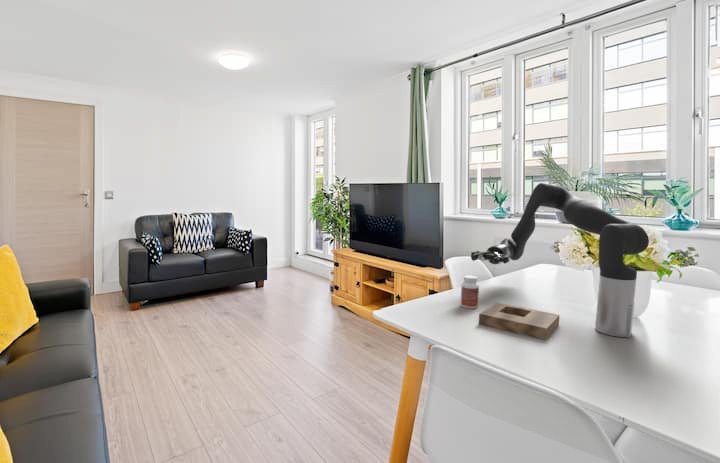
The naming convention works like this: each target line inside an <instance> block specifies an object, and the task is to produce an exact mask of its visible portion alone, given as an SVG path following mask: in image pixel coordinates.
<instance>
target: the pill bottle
mask: <svg viewBox="0 0 720 463" xmlns="http://www.w3.org/2000/svg"><path fill="white" fill-rule="evenodd" d="M460 289H461V291H460V306H461V307H462V308H465V309H470V310H471V309H476V308H478V307H479V294H480V285H479V283H478V276H475V275H464V276H463V282H462V283H461V288H460Z"/></svg>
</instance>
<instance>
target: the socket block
mask: <svg viewBox="0 0 720 463" xmlns="http://www.w3.org/2000/svg"><path fill="white" fill-rule="evenodd" d="M478 325H480V326H484V327H489V328H493V329H498V330H502V331H506V332H510V333H514V334H519V335H521V336H522V335H523V336H526V337H531V338H535V339H538V340H539V339H540V340H543V341H547V340H548V339H549V338H550V337H551V335H552V334H553V333H554V332H555V330H557V328H558V327H559V325H560V314H557V313H553V312H552V313H551V312H548V311H543V310H542V311H541V310H538V309H531V308H527V307H522V306H517V305H511V304H506V303H501V302H495V303H494V304H493V305H490V306H489V307H487V308H486V309H485V310H483V311H481V312H479V313H478Z"/></svg>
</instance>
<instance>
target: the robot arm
mask: <svg viewBox="0 0 720 463" xmlns="http://www.w3.org/2000/svg"><path fill="white" fill-rule="evenodd" d="M540 207H545V208H550V209H551V208H552V209H556V210H559V211H561V212H562V213H563V216H564V217H563V218H565V220H566V221H567V222H568V223H569V224H571V225H573V226H574V227H576V228H577V229H580V230H582V231H584V232H587V233H591V234H596V235H599V240H598V268H599V280H598V291H597V292H598V293H597V304H596V314H595V315H596V316H595V325H594V326H595V327H594V328H595V329H594V330H596V331H597V332H599V333H601V334H604V335H607V336H612V337H616V338H617V337H618V338H631V335H632V330H633V321H634V320H633V319H634V312H635V311H634V310H635V296H636V285H637V274H638V271H637V269H635V268H634V267H632V266H629V265H627V264H625V263H624V256H625V255H626V256H627V255H629V256H630V255H632V256H633V255H638V254H641V253H643V252H644V251H646V250H647V248H648V246H649V244H650V241H649V240H650V239H649V235H648V233H647V232H646V230H645V229H644V228H643V227H642V226H640V225H638V224H635V223H633V222H630V221H629V220H628V221H627V220H624V219H622V218H620V217H617V216H615V215H613V214H611V213H609V212H608V211H606V210H604V209H602V208H600V207H598V206H596V205H595V204H593V203H591V202H589V201H587V200H585V199H583V198H581V197H578V196H576V195H574V194H572V193H571V192H570V191H568V190H567V189H566V188H565V187H563V186H562V185H558V184H553V183H548V182H540V183H538V184H537V185H536V186H535V187H534V189H533V190H532V192H531V194H530V197H529V199H528V201H527V203H526V205H525V209H524V212H523V213H522V215H521V218H520V220H519V221H518V223H517V225H516V226H515V228H514V229H513V231H512V232H511V235H510V236H511V237H510V238H508V237H507V238H504V239H503V240H502V241H501V242H500V244H496V245H492V246H490V247H488V248H487V250H486V251H480V250H476V251H471V254H470V259H471V261H473V262H475V261H477V260H479V261H481V262H482V261H486V262H488V263H490V264H491V265H500V264H502V263H503V264H507V263H509V262H510V261H511V260H512V261H517V260H519V259H521V257H522V256H523V254H524V251H525V247H526V244H527V242H528V240H529V239H530V237H531V236H532V234H534V232H535V228H536V212H537V210H538V209H539V208H540Z"/></svg>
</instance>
